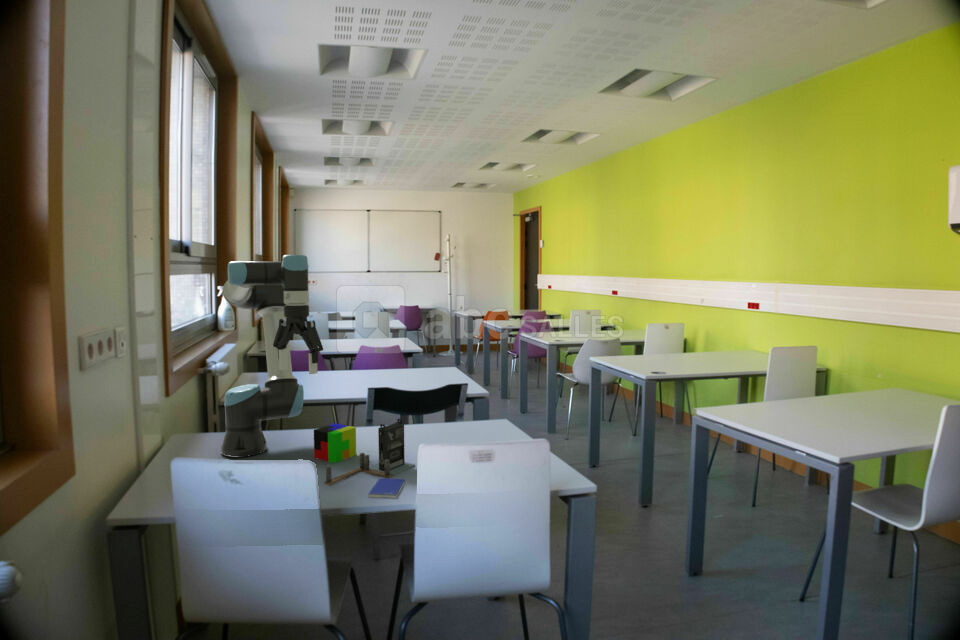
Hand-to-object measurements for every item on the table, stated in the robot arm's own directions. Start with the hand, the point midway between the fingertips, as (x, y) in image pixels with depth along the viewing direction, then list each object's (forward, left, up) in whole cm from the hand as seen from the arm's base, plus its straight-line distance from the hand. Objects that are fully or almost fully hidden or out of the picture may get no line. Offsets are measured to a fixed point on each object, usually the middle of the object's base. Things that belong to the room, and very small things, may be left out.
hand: (298, 371), depth 182 cm
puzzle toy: (-2, +17, -33) cm, 37 cm away
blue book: (+33, +4, -34) cm, 47 cm away
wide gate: (+15, +5, -33) cm, 36 cm away
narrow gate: (+22, +11, -33) cm, 41 cm away
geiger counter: (+22, +18, -32) cm, 43 cm away
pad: (+22, +18, -33) cm, 43 cm away
